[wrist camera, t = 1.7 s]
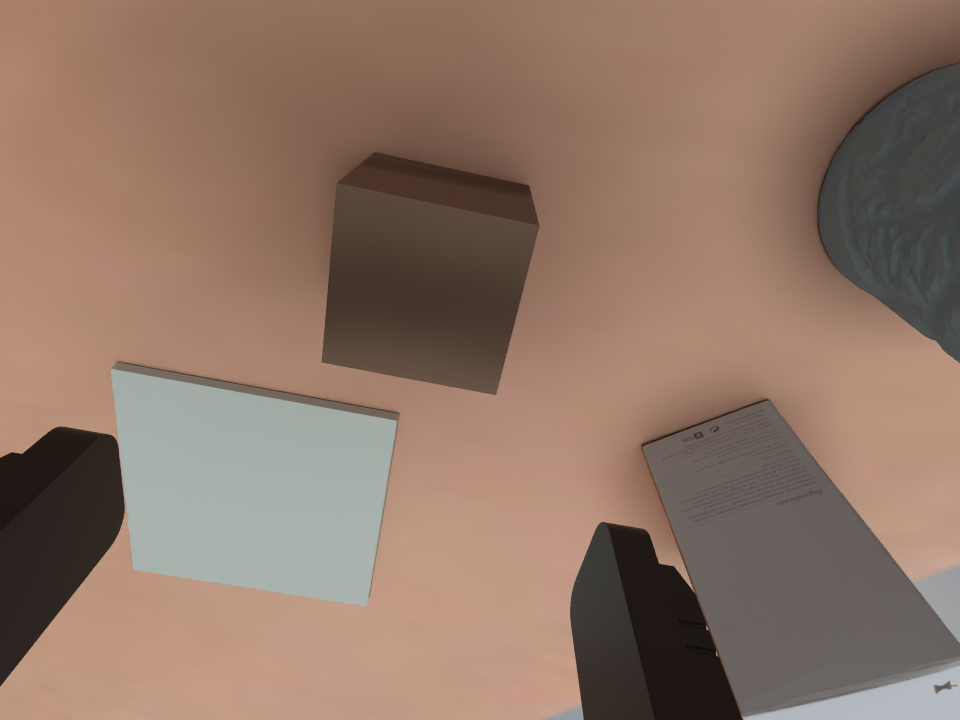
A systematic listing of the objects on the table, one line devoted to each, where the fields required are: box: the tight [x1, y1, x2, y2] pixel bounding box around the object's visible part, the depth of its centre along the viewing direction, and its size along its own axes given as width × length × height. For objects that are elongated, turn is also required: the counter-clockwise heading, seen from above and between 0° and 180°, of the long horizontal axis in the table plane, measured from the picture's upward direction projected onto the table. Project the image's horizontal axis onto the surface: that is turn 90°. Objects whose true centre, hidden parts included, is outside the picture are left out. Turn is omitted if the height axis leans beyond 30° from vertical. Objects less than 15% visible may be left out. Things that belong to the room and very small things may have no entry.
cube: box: [322, 153, 539, 395], centre depth 21 cm, size 6×6×6 cm
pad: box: [111, 362, 399, 606], centre depth 30 cm, size 13×13×1 cm
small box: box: [642, 400, 960, 720], centre depth 23 cm, size 8×6×13 cm
